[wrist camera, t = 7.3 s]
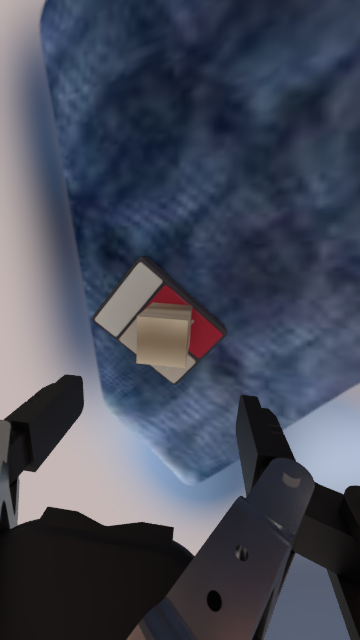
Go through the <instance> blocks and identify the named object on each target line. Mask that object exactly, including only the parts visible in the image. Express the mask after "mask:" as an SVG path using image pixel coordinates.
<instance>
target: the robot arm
mask: <svg viewBox="0 0 360 640" xmlns="http://www.w3.org/2000/svg"><path fill="white" fill-rule="evenodd" d="M83 406H84V396H83V381H82V377H81V376H75V375H64V376H63V377H62V378H60V379H59V380H58V381H57V382H56V383H52V384H50V385H48V386H46V387H44V388H42V389H41V390H40V391H38V392H37V393H36V394H35V395H34V396H32V397H31V398H30V399H29V400H28V401H27V402H25V403H24V404H22V405H21V406H20V407H19V408H17V409H16V410H15V411H14V412H12V413H11V414H10V415H9V416H8V417H6V418H5V419H4V420H0V640H264V638H265V635H266V632H267V629H268V627H269V624H270V620H271V618H272V615H273V611H274V609H275V606H276V603H277V601H278V598H279V595H280V593H281V590H282V587H283V585H284V582H285V580H286V577H287V575H288V572H289V569H290V567H291V564H292V562H293V558H294V556H295V554H296V553H298V554H300V555H301V556H303V557H305V558H307V559H309V560H311V561H313V562H315V563H317V564H319V565H321V566H322V567H325V568H326V569H327V571H328V574H329V577H330V580H331V583H332V586H333V589H334V592H335V595H336V598H337V600H338V604H339V607H340V610H341V612H342V615H343V618H344V621H345V624H346V627H347V630H348V633H349V636H350V639H351V640H360V486H349V487H348V488H347V489H346V490H345V493H344V494H341V493H339V492H336V491H334V490H331V489H329V488H326V487H324V486H322V485H319V484H318V483H316V482H314V480H313V477H312V476H311V474H310V473H309V472H308V470H307V469H306V468H305V467H303V466H302V465H301V464H299V463H298V462H296V460H295V458H294V456H293V453H292V451H291V449H290V447H289V444H288V442H287V440H286V438H285V435H284V434H283V431H282V428H281V427H280V424H279V422H278V419H277V417H276V416H275V415H274V414H273V413H272V412H271V411H270V410H269V409H266V408H261V405H260V402H259V400H258V397H256V396H248V395H241V396H240V401H239V407H238V414H237V421H236V437H237V443H238V449H239V455H240V461H241V466H242V473H243V478H244V484H245V490H246V496H247V497H246V498H244V497H243V496H240V497H239V498H238V499H237V500H236V501H235V502H234V504H233V505H232V506H231V508H230V509H229V510H228V512H227V513H226V514H225V516H224V517H223V519H222V520H221V521H220V523H219V524H218V526H217V527H216V528H215V530H214V531H213V532H212V534H211V535H210V536H209V538H208V539H207V541H206V542H205V543H204V545H203V546H202V547H201V549H200V550H199V551H198V553H197V554H196V556H194V555H192V553H190V552H189V551H188V550H187V549H186V548H185V547H183V546H182V545H180V544H179V543H177V542H175V541H173V530H174V527H168V526H163V525H157V524H150V523H144V522H138V523H130V524H122V525H114V526H104V525H101V524H100V523H98V522H96V521H94V520H92V519H91V518H89V517H87V516H85V515H83V514H81V513H79V512H77V511H71V510H64V509H59V508H52V507H47V508H46V510H45V512H44V513H43V515H42V516H41V518H40V519H37V520H33V521H29V522H26V523H23V524H20V525H18V526H17V520H18V500H19V475H20V474H21V472H23V470H25V471H32V472H36V471H37V469H38V468H39V467H40V465H41V464H42V463H43V462H44V461H45V459H46V458H47V457H48V456H49V454H50V453H51V452H52V450H53V449H54V448H55V447H56V445H57V444H58V443H59V442H60V440H61V439H62V438H63V436H64V435H65V433H67V431H68V430H69V429H70V428H71V426H72V425H73V424H74V422H75V421H76V420H77V419H78V417H79V416H80V414H81V413H82V410H83Z"/></svg>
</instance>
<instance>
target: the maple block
mask: <svg viewBox="0 0 360 640" xmlns="http://www.w3.org/2000/svg"><path fill="white" fill-rule="evenodd" d="M191 317H192V306H191V305H178V304H165V303H152V304H150V305H149V306H148V307H147V308H146V309H145V310H144V311H142V312H141V313H140V314H139V315H138V316H137V363H139V364H149V365H159V366H169V367H179V368H185V365H186V360H187V355H188V349H189V344H190V331H191Z"/></svg>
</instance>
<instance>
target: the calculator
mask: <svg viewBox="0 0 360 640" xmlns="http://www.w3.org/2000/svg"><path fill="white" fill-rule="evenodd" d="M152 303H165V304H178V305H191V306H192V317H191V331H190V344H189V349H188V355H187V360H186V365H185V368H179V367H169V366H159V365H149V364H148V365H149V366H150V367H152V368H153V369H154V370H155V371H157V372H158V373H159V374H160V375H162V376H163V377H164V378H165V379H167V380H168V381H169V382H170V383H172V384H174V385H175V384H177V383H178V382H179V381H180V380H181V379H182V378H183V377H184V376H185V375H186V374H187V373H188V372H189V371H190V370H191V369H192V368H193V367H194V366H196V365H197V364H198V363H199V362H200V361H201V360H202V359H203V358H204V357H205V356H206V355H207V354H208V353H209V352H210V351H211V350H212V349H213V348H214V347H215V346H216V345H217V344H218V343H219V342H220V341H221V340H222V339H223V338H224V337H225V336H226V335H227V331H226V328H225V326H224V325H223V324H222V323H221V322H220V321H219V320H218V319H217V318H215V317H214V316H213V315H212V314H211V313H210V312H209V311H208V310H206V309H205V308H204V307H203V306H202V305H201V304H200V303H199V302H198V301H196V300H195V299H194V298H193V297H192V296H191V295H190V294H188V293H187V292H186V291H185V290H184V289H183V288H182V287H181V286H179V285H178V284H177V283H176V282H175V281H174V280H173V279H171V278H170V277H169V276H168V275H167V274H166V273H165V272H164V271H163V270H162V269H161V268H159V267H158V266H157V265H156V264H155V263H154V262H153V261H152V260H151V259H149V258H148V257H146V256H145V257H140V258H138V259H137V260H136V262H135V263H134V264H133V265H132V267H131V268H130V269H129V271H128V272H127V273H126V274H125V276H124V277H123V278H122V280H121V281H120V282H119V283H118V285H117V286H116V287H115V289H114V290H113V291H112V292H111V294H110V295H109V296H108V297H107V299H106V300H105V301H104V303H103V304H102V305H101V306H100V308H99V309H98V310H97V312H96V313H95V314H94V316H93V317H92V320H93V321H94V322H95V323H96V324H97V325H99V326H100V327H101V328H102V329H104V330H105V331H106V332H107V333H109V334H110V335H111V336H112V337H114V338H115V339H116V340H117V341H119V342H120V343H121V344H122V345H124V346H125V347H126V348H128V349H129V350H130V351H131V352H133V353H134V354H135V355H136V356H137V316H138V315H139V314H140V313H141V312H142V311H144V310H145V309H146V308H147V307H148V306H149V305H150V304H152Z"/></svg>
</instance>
